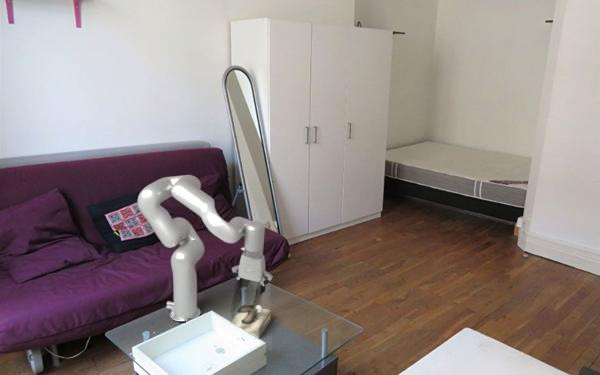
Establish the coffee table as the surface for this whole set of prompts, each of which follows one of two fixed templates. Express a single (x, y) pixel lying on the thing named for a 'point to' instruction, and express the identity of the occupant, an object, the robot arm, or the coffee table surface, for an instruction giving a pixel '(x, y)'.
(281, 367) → the coffee table surface
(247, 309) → the eagle figurine
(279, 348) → the coffee table surface
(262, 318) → the pedestal
